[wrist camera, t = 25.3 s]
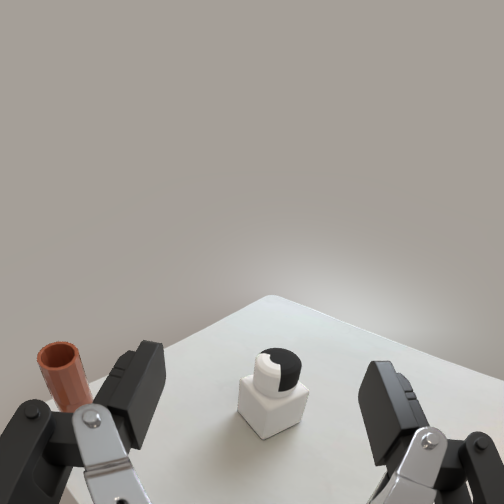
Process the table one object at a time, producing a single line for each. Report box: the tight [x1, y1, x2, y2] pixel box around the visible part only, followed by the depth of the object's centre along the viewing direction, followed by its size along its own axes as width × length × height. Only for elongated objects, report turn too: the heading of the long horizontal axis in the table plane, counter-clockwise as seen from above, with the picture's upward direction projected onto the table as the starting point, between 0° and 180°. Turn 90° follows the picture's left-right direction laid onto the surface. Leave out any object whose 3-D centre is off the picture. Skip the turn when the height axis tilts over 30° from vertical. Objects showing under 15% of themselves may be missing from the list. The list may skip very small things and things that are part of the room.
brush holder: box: [37, 342, 94, 413], centre depth 32 cm, size 6×6×14 cm
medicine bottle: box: [238, 348, 309, 439], centre depth 40 cm, size 7×7×12 cm
